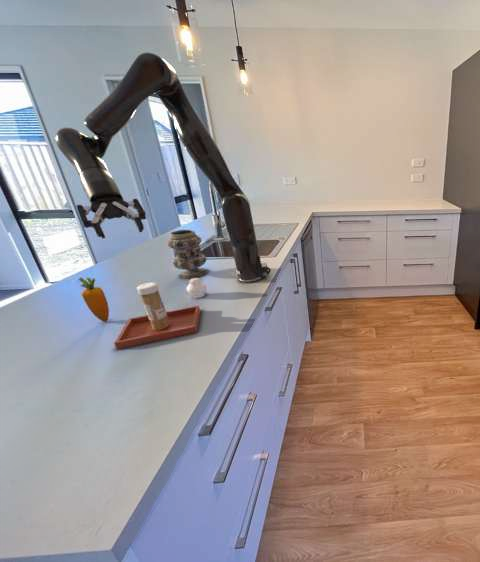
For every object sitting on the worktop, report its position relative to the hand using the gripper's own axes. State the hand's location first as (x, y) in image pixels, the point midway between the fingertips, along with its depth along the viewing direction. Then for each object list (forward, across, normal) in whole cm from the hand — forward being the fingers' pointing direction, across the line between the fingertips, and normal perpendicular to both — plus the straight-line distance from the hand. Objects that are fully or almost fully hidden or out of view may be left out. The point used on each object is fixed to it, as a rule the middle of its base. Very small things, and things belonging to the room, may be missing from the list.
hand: (122, 233), depth 84 cm
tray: (+27, 0, +11) cm, 29 cm away
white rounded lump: (+17, +14, +21) cm, 30 cm away
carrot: (+15, -11, +23) cm, 30 cm away
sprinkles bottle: (+27, 0, +10) cm, 29 cm away
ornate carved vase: (-1, +20, +38) cm, 43 cm away
